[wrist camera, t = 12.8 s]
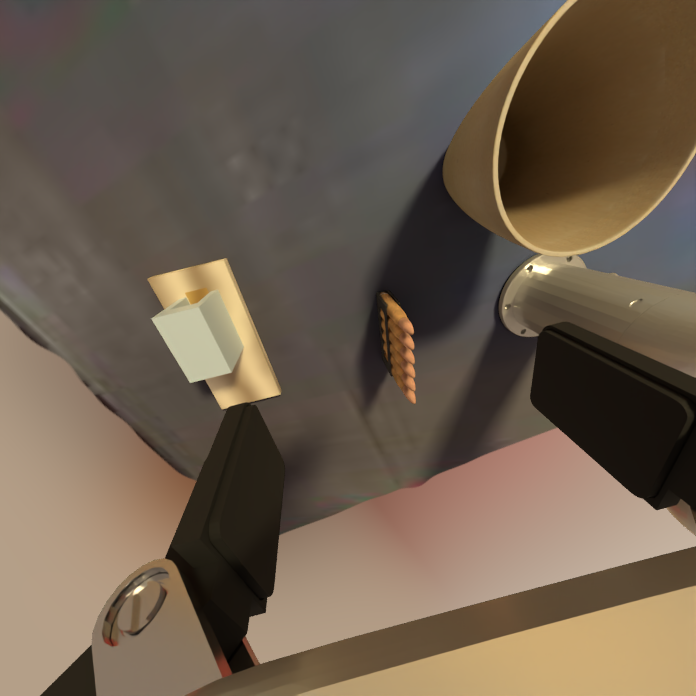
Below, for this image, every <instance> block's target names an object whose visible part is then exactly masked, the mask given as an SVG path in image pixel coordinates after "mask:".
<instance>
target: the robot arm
mask: <svg viewBox="0 0 696 696" xmlns="http://www.w3.org/2000/svg"><path fill="white" fill-rule="evenodd" d="M499 316H500V319H501V321H502V323H503V324H504V326H505V327H506V328H507V329H508V330H509V331H511V332H513V333H514V334H516V335H519V336H523V337H536V336H538V342H537V350H536V357H535V365H534V372H533V379H532V387H531V394H530V399H531V402H532V404H533V406H534V407H535V408H536V409H537V410H539V411H540V412H541V413H542V414H543V415H544V416H545V417H546V418H548V419H549V420H550V421H551V422H552V423H553V424H554V425H555V426H557V427H558V428H559V429H560V430H561V431H562V432H563V433H564V434H566V435H567V436H568V437H569V438H570V439H571V440H572V441H573V442H575V443H576V444H577V445H578V446H579V447H580V448H581V449H583V450H584V451H585V452H586V453H587V454H588V455H589V456H590V457H592V458H593V459H594V460H595V461H596V462H597V463H598V464H599V465H600V466H602V467H603V468H604V469H605V470H606V471H607V472H608V473H609V474H611V475H612V476H613V477H614V478H615V479H616V480H617V481H618V482H620V483H621V484H622V485H623V486H624V487H625V488H626V489H628V490H629V491H630V492H631V493H632V494H634V495H635V496H637V497H639V498H643V499H644V500H645V501H646V502H648V503H649V504H650V505H651V506H652V507H653V508H654V509H656V510H659V509H663V508H667V509H668V510H669V512H670V513H671V514H672V515H673V516H674V517H675V518H676V519H677V520H678V521H679V522H680V523H681V524H682V525H683V526H685V527H686V528H687V529H688V530H689V531H691V532H692V533H693V534H694V535H695V536H696V293H693V292H689V291H684V290H680V289H675V288H671V287H666V286H662V285H657V284H653V283H648V282H644V281H639V280H635V279H630V278H626V277H621V276H618V275H617V274H616V273H609V274H608V273H603V272H599V271H594V270H590V269H586V266H585V264H584V262H583V261H582V260H581V258H580V257H578V256H577V255H573V256H566V257H554V256H546V255H542V254H537V255H535V256H533V257H531V258H530V259H528V260H527V261H525V262H524V263H523V264H522V265H520V266H519V267H518V268H517V269H516V270H515V271H514V273H513V274H512V275H511V276H510V278H509V279H508V281H507V282H506V284H505V286H504V288H503V290H502V293H501V296H500V300H499ZM284 476H285V465H284V461H283V459H282V457H281V455H280V453H279V451H278V449H277V447H276V444H275V442H274V440H273V438H272V436H271V434H270V432H269V430H268V428H267V426H266V424H265V422H264V420H263V418H262V416H261V414H260V412H259V410H258V408H257V406H256V405H251V404H250V403H249V402H245V403H241V404H237V405H233V406H230V407H228V409H227V411H226V413H225V416H224V418H223V421H222V423H221V426H220V428H219V431H218V433H217V436H216V438H215V440H214V443H213V445H212V448H211V450H210V453H209V455H208V457H207V459H206V461H205V462H204V465H203V467H202V470H201V472H200V474H199V477H198V479H197V482H196V484H195V487H194V489H193V491H192V494H191V496H190V499H189V502H188V504H187V506H186V509H185V511H184V513H183V516H182V518H181V521H180V523H179V525H178V528H177V530H176V533H175V535H174V538H173V540H172V542H171V545H170V547H169V550H168V552H167V555H166V557H165V559H164V558H163V559H157V560H153V561H151V562H149V563H147V564H145V565H143V566H141V567H140V568H139V569H137V570H136V571H134V572H133V573H132V574H131V575H129V576H128V577H127V578H126V579H125V580H124V581H123V582H122V583H121V584H120V585H119V586H118V587H117V589H116V590H115V591H114V593H113V594H112V595H111V597H110V598H109V599H108V600H107V602H106V604H105V605H104V607H103V609H102V611H101V613H100V614H99V616H98V619H97V622H96V624H95V627H94V630H93V635H92V645H91V646H90V647H89V648H88V649H87V650H86V651H85V652H84V653H83V654H82V655H81V656H80V657H79V658H78V659H77V660H76V661H75V662H74V663H73V664H72V665H71V666H70V667H69V668H68V669H67V670H66V671H65V672H64V673H63V674H62V675H61V676H59V677H58V679H57V680H56V681H55V682H54V683H52V685H50V686H49V687H48V688H47V690H45V691H44V692H43V694H41V695H40V696H696V547H691V548H688V549H684V550H680V551H676V552H672V553H669V554H664V555H660V556H657V557H653V558H649V559H645V560H642V561H637V562H634V563H629V564H626V565H622V566H618V567H615V568H610V569H607V570H603V571H599V572H596V573H591V574H588V575H584V576H580V577H576V578H573V579H569V580H565V581H561V582H557V583H554V584H550V585H546V586H543V587H538V588H535V589H531V590H527V591H524V592H519V593H516V594H512V595H508V596H505V597H501V598H497V599H493V600H489V601H485V602H482V603H478V604H474V605H470V606H467V607H463V608H460V609H456V610H452V611H448V612H444V613H441V614H437V615H434V616H430V617H426V618H422V619H419V620H415V621H411V622H407V623H404V624H400V625H397V626H393V627H389V628H385V629H382V630H378V631H374V632H370V633H367V634H363V635H359V636H355V637H352V638H348V639H344V640H341V641H338V642H334V643H331V644H327V645H324V646H321V647H317V648H314V649H310V650H307V651H304V652H300V653H297V654H293V655H290V656H287V657H283V658H280V659H276V660H273V661H269V662H266V663H263V664H260V663H259V662H258V660H257V658H256V656H255V654H254V652H253V650H252V648H251V646H250V644H249V642H248V640H247V638H246V637H245V635H246V634H247V630H248V623H249V617H251V616H254V615H258V614H262V613H265V612H266V603H267V597H270V596H271V595H272V593H273V590H274V582H275V573H276V562H277V550H278V540H279V530H280V519H281V508H282V498H283V487H284Z"/></svg>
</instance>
